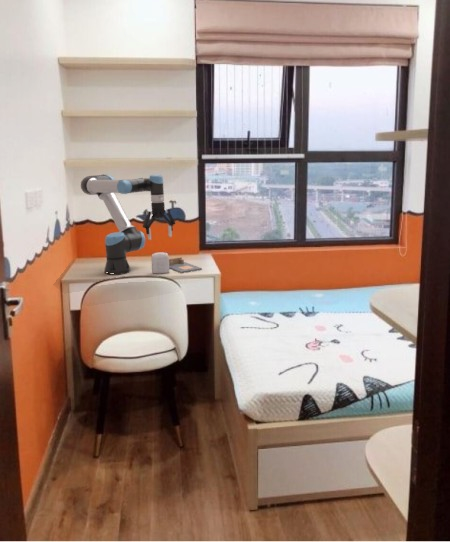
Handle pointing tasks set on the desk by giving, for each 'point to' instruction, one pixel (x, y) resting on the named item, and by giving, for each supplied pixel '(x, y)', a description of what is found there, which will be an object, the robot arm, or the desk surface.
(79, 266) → the desk surface
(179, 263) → the dock
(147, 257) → the desk surface
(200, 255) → the desk surface
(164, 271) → the photo printer
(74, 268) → the desk surface
